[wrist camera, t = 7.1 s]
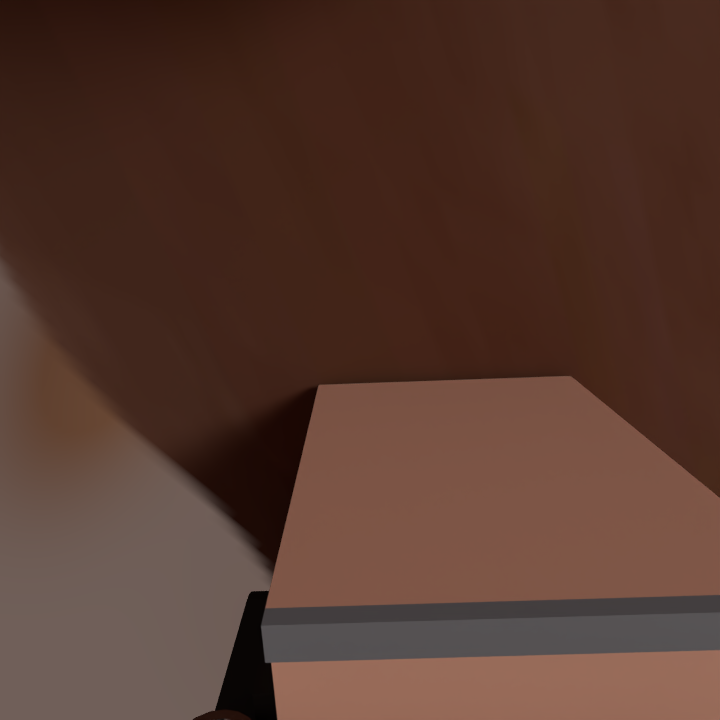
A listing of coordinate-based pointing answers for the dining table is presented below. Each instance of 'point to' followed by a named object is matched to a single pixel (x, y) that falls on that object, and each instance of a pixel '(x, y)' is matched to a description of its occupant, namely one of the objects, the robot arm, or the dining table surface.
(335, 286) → the dining table surface
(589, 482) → the stub
